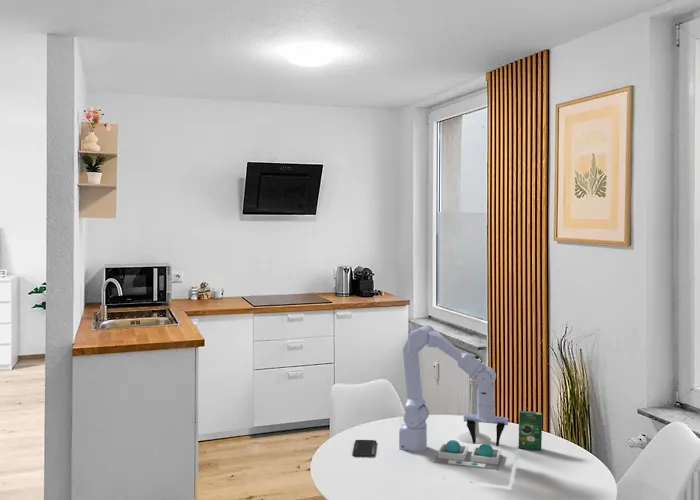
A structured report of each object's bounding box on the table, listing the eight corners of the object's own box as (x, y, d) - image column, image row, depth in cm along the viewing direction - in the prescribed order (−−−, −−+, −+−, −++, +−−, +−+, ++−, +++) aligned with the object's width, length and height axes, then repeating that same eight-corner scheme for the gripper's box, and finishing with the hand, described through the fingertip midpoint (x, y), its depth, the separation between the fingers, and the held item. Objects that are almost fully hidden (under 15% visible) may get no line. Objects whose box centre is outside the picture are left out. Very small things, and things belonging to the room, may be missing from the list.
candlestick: (496, 439, 232) (496, 358, 231) (484, 449, 221) (484, 365, 220) (464, 433, 239) (464, 355, 238) (451, 443, 228) (450, 361, 227)
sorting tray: (433, 465, 207) (433, 456, 207) (441, 451, 220) (441, 442, 220) (498, 473, 200) (498, 463, 200) (502, 457, 213) (502, 449, 213)
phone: (376, 440, 230) (374, 455, 215) (376, 443, 230) (374, 458, 215) (355, 439, 231) (351, 454, 216) (355, 442, 231) (351, 457, 216)
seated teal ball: (444, 456, 212) (444, 442, 212) (447, 451, 217) (447, 437, 217) (459, 458, 210) (459, 443, 210) (461, 453, 215) (461, 438, 215)
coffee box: (542, 448, 222) (542, 411, 221) (542, 451, 219) (542, 414, 219) (518, 446, 224) (518, 409, 224) (518, 448, 222) (518, 412, 221)
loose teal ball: (476, 460, 209) (477, 445, 208) (479, 455, 213) (479, 440, 213) (492, 462, 207) (492, 447, 206) (494, 457, 211) (494, 442, 211)
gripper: (462, 405, 208) (462, 445, 208) (507, 409, 203) (507, 450, 204) (465, 399, 215) (465, 438, 215) (508, 403, 210) (508, 443, 210)
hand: (485, 444), depth 210 cm, fingers open, 7 cm apart
